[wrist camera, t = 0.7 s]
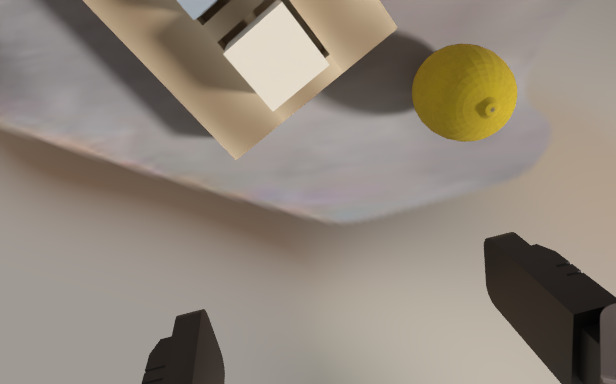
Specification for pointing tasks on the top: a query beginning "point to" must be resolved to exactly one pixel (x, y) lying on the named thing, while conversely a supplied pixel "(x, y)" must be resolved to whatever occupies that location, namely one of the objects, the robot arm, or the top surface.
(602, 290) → the robot arm
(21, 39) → the top surface
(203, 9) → the blue key
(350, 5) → the tray
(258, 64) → the ivory key
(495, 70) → the lemon
